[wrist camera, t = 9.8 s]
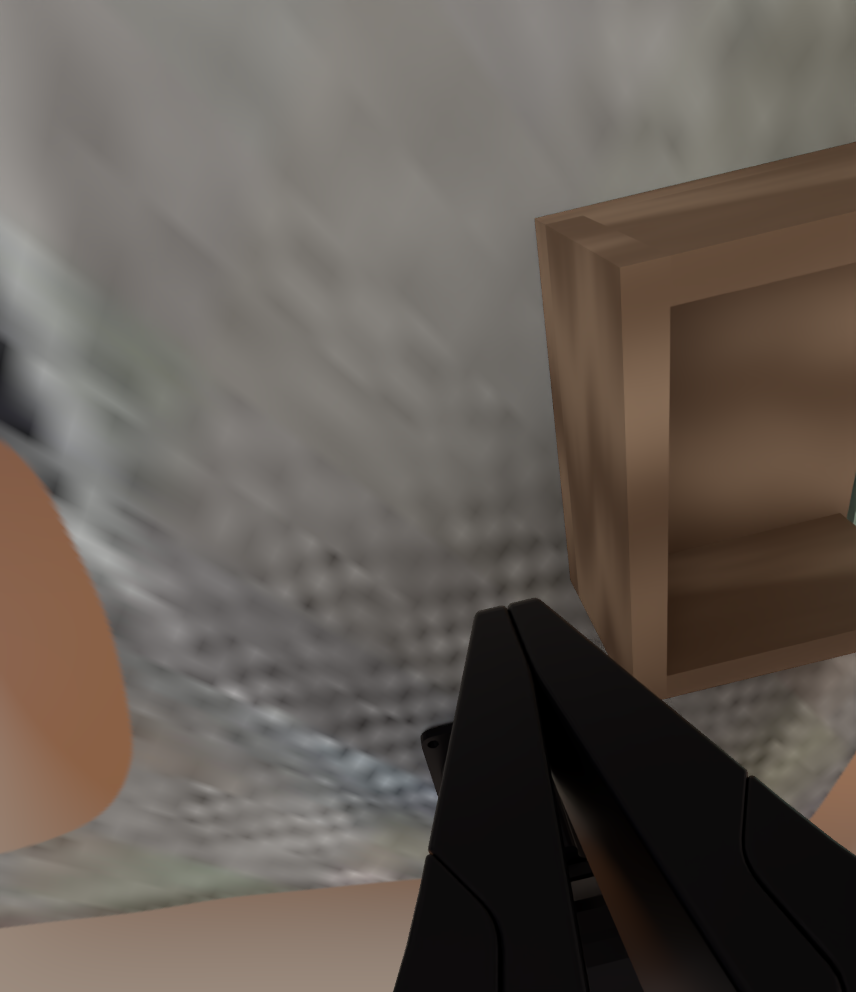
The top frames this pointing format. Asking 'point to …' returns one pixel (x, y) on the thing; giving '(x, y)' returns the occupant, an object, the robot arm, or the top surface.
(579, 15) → the top surface
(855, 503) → the panel
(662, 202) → the crate
